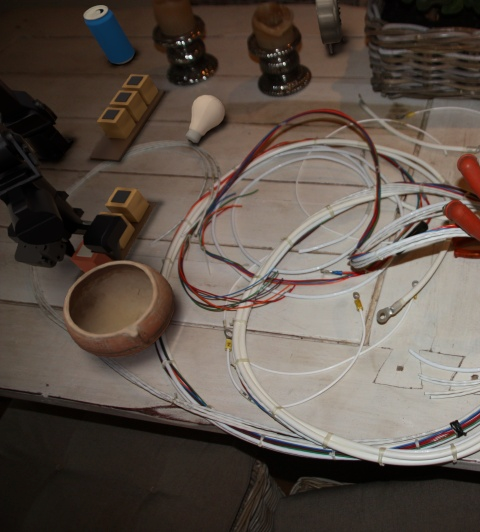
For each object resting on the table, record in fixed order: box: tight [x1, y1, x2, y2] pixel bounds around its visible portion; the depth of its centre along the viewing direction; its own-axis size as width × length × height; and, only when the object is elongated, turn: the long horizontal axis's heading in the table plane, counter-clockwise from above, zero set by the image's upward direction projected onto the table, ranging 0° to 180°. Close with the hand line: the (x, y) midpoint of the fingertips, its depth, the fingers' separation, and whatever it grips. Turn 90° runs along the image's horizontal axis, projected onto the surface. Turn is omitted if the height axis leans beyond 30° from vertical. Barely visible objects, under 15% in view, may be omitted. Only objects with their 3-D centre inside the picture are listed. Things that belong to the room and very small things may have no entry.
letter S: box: [70, 239, 113, 273], centre depth 94 cm, size 4×4×5 cm
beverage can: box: [83, 4, 136, 65], centre depth 129 cm, size 6×6×12 cm
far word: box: [89, 73, 166, 163], centre depth 117 cm, size 7×22×5 cm, turn 168°
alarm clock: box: [314, 0, 346, 55], centre depth 121 cm, size 11×5×16 cm, turn 6°
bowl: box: [62, 259, 175, 358], centre depth 85 cm, size 16×16×10 cm
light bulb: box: [185, 94, 226, 144], centre depth 113 cm, size 7×7×11 cm
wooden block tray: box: [77, 186, 158, 278], centre depth 98 cm, size 7×18×5 cm, turn 168°
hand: (96, 258), depth 95 cm, fingers open, 9 cm apart
